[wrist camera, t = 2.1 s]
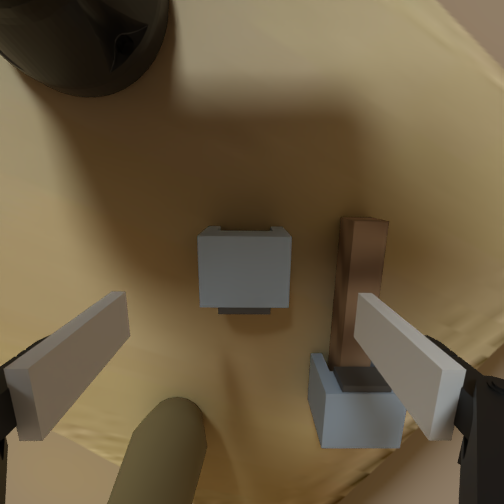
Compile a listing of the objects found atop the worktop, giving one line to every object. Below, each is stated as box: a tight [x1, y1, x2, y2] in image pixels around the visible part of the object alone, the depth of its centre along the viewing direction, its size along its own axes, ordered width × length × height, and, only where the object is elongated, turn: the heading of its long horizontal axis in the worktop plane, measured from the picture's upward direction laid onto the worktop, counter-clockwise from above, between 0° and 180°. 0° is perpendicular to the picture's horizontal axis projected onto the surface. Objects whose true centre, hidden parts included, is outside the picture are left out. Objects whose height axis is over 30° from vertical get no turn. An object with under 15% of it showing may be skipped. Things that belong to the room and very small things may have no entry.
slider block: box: [308, 353, 406, 448], centre depth 27 cm, size 7×7×6 cm
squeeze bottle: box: [107, 397, 207, 504], centre depth 23 cm, size 8×8×18 cm
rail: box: [328, 217, 389, 371], centre depth 27 cm, size 22×3×4 cm, turn 179°
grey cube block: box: [197, 226, 292, 314], centre depth 24 cm, size 7×7×6 cm
